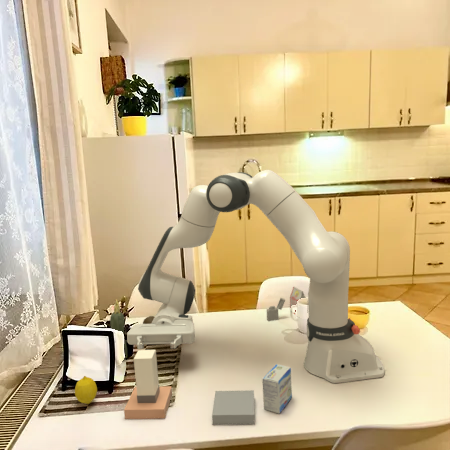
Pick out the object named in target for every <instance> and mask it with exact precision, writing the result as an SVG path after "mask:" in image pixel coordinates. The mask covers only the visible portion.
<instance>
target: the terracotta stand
mask: <svg viewBox="0 0 450 450" xmlns="http://www.w3.org/2000/svg"><path fill="white" fill-rule="evenodd" d="M172 387H173V386H170V385H167V386H166V385H165V386H163V385H162V386H161V385H159V388H160V393H159V396H158V399H157V401H156V403H138V402H137V387H136V386H135V387H133V390H132V393H131V394H130V397H129V399H127V400H128V401H127V403H126V405H125V407H124V409H123V412H124V413H123V414H124V419H125V420H143V419H144V420H148V419H150V420H151V419H152V420H153V419H154V420H155V419H156V420H158V419H166V417H167V413H168V409H169V408H170V407H169V406H170V403H171V401H170V400H172V398H173V388H172ZM171 397H172V398H171Z"/></svg>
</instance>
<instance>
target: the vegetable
mask: <svg viewBox="0 0 450 450" xmlns="http://www.w3.org/2000/svg"><path fill="white" fill-rule="evenodd" d="M114 300H115V302H114V307H113V312H112V313H111V315H110V319H109V323H110V329H111V328H112V329H115V330H118V331H122V332H123V333H124V330H125V316H124V314H123V313H122V311H121V306H120V302H119V301H118V299H116V298H115V299H114ZM124 339H125V338H124ZM124 347H125V355H126V357H128V347H127V340H125V344H124Z"/></svg>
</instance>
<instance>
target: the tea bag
mask: <svg viewBox="0 0 450 450" xmlns="http://www.w3.org/2000/svg"><path fill="white" fill-rule="evenodd" d="M291 290H292V291H291V293H290V296H289V309H290V308H291V306H292V305H296V304H297V301H298V300H299V299H301V298H306V299H307V297H306V296H305V294H304V291H303V290H302V289H299V288H297V287H296V286H293V287H292V289H291ZM295 312H296V310H295Z"/></svg>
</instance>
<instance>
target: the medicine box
mask: <svg viewBox="0 0 450 450" xmlns="http://www.w3.org/2000/svg"><path fill="white" fill-rule="evenodd" d="M261 382H262V396H263V397H262V399H263V400H262V401H263V409H264V410H266V411H268V412H272V413H275V414H278V415H279V414H281V413H282V411H283V410H284V409H285V408H286V406H287V404H288V403H289V401H290V400H291V399H292V398H293V393H292V392H293V390H292V388H293V387H292V367H289V366H286V365H283V364H277V363H276V364H275V365H274V366H273V367H272V368H271V369H270V370H269V371H268V372H267V373H266V374H265V376H264V377H263V378H262V380H261Z"/></svg>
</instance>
